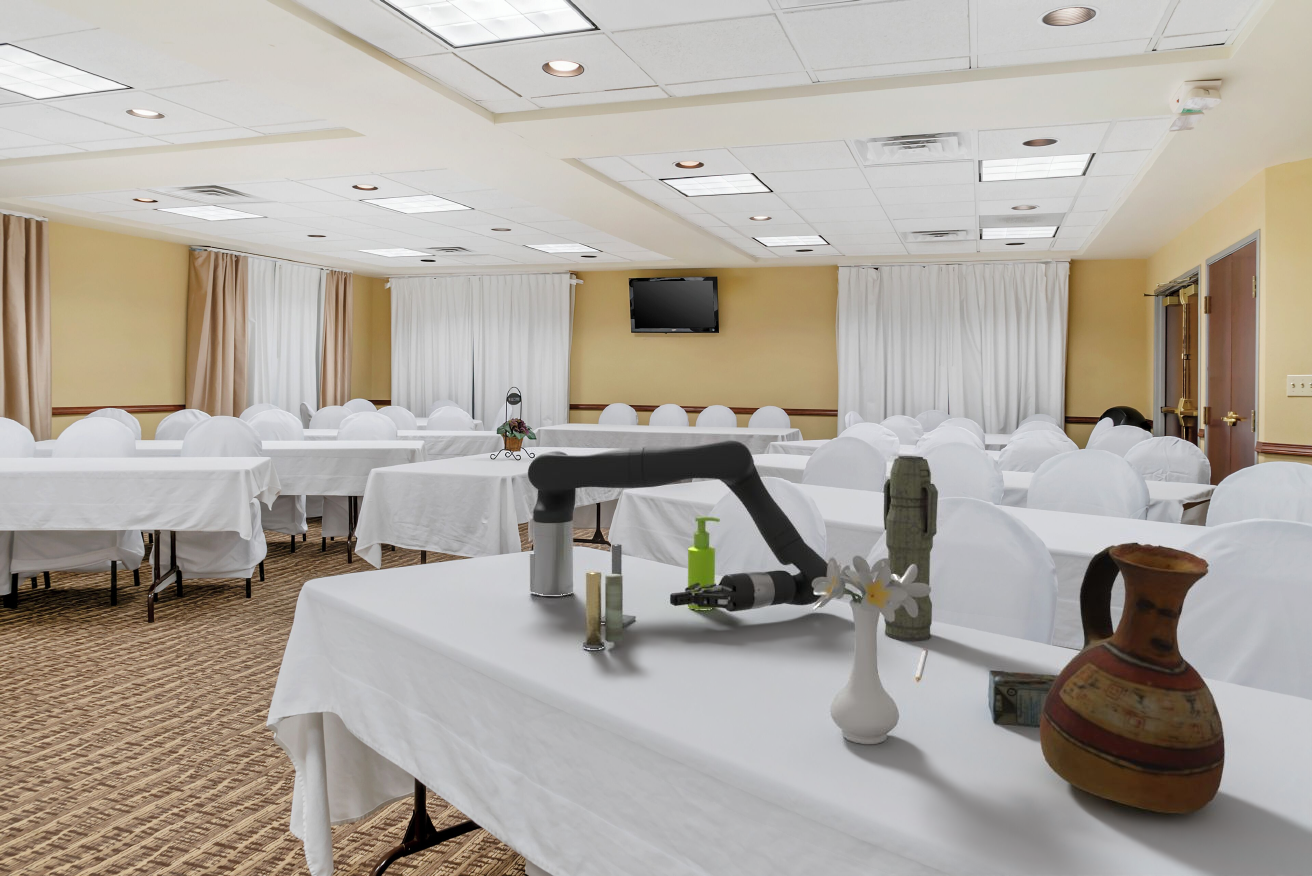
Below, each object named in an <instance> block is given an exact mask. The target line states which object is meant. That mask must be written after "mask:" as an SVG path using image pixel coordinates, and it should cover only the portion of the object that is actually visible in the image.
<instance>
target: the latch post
mask: <svg viewBox="0 0 1312 876" xmlns="http://www.w3.org/2000/svg"><path fill="white" fill-rule="evenodd" d="M601 618H602V572H601V571H587V572H586V573H585V637H586V638H585V641H584V642H583V643H582V648H583V647H585V648H590V649H599V648H602V647H604V648H605V642H604V641H602V625H601Z"/></svg>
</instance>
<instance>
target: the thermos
mask: <svg viewBox="0 0 1312 876" xmlns="http://www.w3.org/2000/svg"><path fill="white" fill-rule="evenodd" d="M889 475H890V478H889V479H887V480H886V482H885V484H883V485H884V486H883V525H884V530H885V531H886V532H885V536H886V537H885V545H886V548H887V551H888V552H887V553H888V557H887V558H888V559H889V560H890V565H889V567H890V570H891V575H892V574H896V575H898V576H900V578H902V577H903V576H904V574H905V572H906V571H907V569H908V568H909V567H910V566H911V565H912V564H915V565H916V566H917V576H916V578H915V580H914V581H913V582H911V583H924V584H927V585H929V586H930V579H931V578H930V577H931V576H930V575H931V573H930V572H931V552H932V549H933V547H934V546H933V545H934V537H935V536H936V535H937V533H938V530H937V522H938V521H937V520H938V519H937V518H938V502H939V501H938V500H939V499H938V496H939V491H938V489H937V487H936V485H935V484H934V483H932V482H931V481H932V472H931V469H930V466H929V463H928V459H926V458H924V457H923V456H915V455H901V456H898V458H896V457H895V458H894V460H893V463H892V465H891V469H890V474H889ZM911 597H912V596H911ZM912 598H913V599H914V600H915V601H916V604H917V607H918V615H917V617H915V618H914V617H911V616H910V615H909V614H908V612H907V611H906V609H905V607H904V606H903V605H900V607H899V608H897V609H895V610H894V613H895V620H894V621H893V622H889V621H888V620H887V619H885V617H884V616H883V620H884V623H885V629H884V635H885V636H887V637H888V638H890V639H893V640H899V641H907V642H922V641H927V640H929V639H931V635H932V634H931V626H932V623H933V622H932V619H933V604H932V603H933V602H932V601H931V597H930V594H928V595H927V596H924V597H912ZM888 603H890V602H888Z"/></svg>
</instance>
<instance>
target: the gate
mask: <svg viewBox="0 0 1312 876" xmlns="http://www.w3.org/2000/svg"><path fill="white" fill-rule="evenodd" d="M623 577H624V576H623V575H620V574H612V573H608V574H606V575H605V577H604V578H605V579H604V580H605V583H604V584H605V585H604V587H605V589H604V591H605V593H604V594H605V596H604V597H605V598H604V599H605V600H604V601H605V605H604V606H605V607H604V608H605V614H604V616H605V625H604V626H605V628H604V630H605V632H604V633H605V635H604V636H605V642H606V641H607V642H610V643H618V642H621V641H624V640H623V637H624V636H623V631H624V630H623V629H624V627H623V615H624V613H623V612H624V611H623V607H624V606H623V604H624V603H623V599H624V598H623V592H624V590H623V588H624V587H623V586H624V585H623V580H624V579H623Z"/></svg>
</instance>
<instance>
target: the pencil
mask: <svg viewBox="0 0 1312 876" xmlns="http://www.w3.org/2000/svg"><path fill="white" fill-rule="evenodd" d="M927 652H928V649H927V648H923V649H922V652H921V655H920V659H919V663H918V666H917V670H916V673H915V681H916V683H918V682H919V681H920V680H921V677H922V673H923V669H924V665H925V661H926V657H927Z"/></svg>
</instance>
